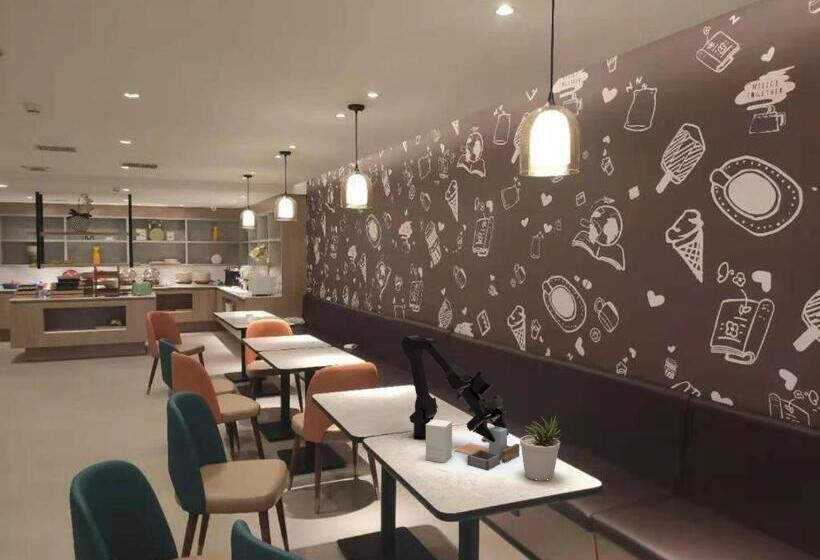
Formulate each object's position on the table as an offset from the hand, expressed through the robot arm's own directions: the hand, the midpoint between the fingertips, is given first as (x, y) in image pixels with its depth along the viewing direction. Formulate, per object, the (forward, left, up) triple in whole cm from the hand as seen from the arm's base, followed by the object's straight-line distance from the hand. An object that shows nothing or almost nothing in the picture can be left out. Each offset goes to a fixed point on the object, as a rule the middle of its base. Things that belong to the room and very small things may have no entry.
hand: (501, 438), depth 206 cm
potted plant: (+8, -18, -7) cm, 21 cm away
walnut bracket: (0, +2, -7) cm, 7 cm away
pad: (-8, +8, -7) cm, 13 cm away
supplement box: (-22, +1, -7) cm, 23 cm away
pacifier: (+1, +20, -7) cm, 21 cm away
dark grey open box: (-7, -6, -7) cm, 12 cm away
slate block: (-1, +1, -7) cm, 7 cm away
